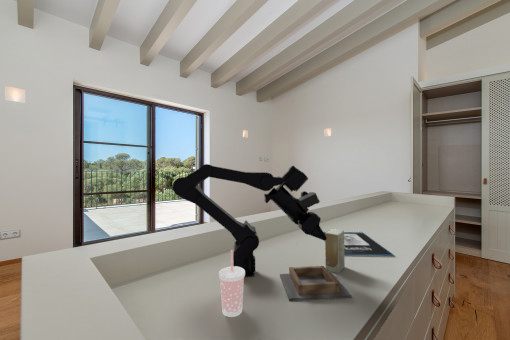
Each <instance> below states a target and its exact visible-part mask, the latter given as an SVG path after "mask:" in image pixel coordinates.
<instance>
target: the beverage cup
mask: <svg viewBox="0 0 510 340" xmlns="http://www.w3.org/2000/svg"><path fill="white" fill-rule="evenodd" d="M233 252H234V249H231V250H230V266H225V267H223V268H221V269H219V271H218V278H219V283H220V296H221V308H222V309H221V310H222V314H223V315H224V316H225V317H229V318H233V317H238V316H240V314H242V313H243V305H244V304H243V303H244V302H243V301H244V283H245V277H244V276H245V270H244V269H243V268H241V267H238V266H233Z"/></svg>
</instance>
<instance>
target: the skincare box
mask: <svg viewBox="0 0 510 340" xmlns="http://www.w3.org/2000/svg"><path fill="white" fill-rule="evenodd" d="M325 232H326V233H325V236H326V237H327V239H326V240H325V242H324V244H325V248H324V249H325V252H324V253H325V268H326V269H327V270H328V271H329V272H331V273H332V272H333V273H336V274H340V273H341V272H342V270H344V267H346V266H345V260H346V259H345V256H344V232H345V230H344V229H343V230H341V229H338V228H337V229H335V228H330V229H328V230H327V231H325Z"/></svg>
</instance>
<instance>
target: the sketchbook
mask: <svg viewBox="0 0 510 340" xmlns="http://www.w3.org/2000/svg"><path fill="white" fill-rule="evenodd" d="M323 232H324V234H325V233H326V232H327V231H326V230H325V231H323ZM323 242H324V243H325V241H324V240H323ZM344 257H375V258H376V257H380V258H382V257H383V258H385V257H386V258H395V254H393V253H392V252H390V251H389V250H388V249H387V248H386V247H383V246H382V245H381V244H380V243H378V242H377V241H375V240H374V239H372V238H371V237H370V236H369V235H367V234H366V233H364V232H362V231H353V230H352V231H351V230H350V231H345V230H344Z"/></svg>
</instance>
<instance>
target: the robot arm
mask: <svg viewBox="0 0 510 340" xmlns="http://www.w3.org/2000/svg"><path fill="white" fill-rule="evenodd" d="M208 178H212V179H213V178H214V179H218V180H224V181H230V182H235V183H241V184H245V185H248V186H250V187H252V188H255V189H258V190H260V191H262V192H263V191H264V192H268V191H269V192H268V193H264V194H263V196H264V202H265V204H268V203H269V202H270V201H272V202H273V203H274V204H275V205H276V206H277V207H278V208H279V209H280V210H281V211H282V212H283V213H284V214H285V215H286V216H287V218H288V219H289V220H290V221H291V222H292V223H294V224H295V225H297V226H298V228H299V229H300V230H301V231H302V232H303V233H305V235H308V236H310V237H314V238H316V239H319V240H322V241H323V242H324V241H325V240H326V239H327V237H326V236H325V234H324V231H323V229H322V228H321V226H320V223H321V217H320V216H319V215H318V214H317V213H315V212H313V211H309V210H310V209H309V208H310V207H312V206H315V205H318V204H319V203H320V202H321V201H320V199H319V197H318V194H317V193H316V192H313V191H311V192H307V191H305V190H304V191H301V192H300V196H299V198H297V197H295V196H293V194H292V192H293V191H294V192H298V191H299V190H300V188H302V187H303V185H305V184H306V183H307V181H308V180H309V177H308V176H307V175H306V173H304V172H303V171H301V170H300V169H299V168H297V167H296V166H294V165H291V166H290V167H289V168H288V170H287V171H286V172H285V173H284V174H283V175H282V176H277V177H276V176H274V175H273V174H272V173H270V172H265V171H264V172H263V171H261V172H255V171H254V172H253V171H252V172H250V171H242V170H235V169H231V168H225V167H219V166H215V165H212V164H203V165H202V166H200V167H199V168H198V169H196V170H194V171H192V172H191V173H190V174H188V175H187V176H182V177H181V176H180V177H179V178H176V179H175V180H174V181H173V183H172V192H173V193H174V194H175V195H176V196H178V197H180V198H182V199H184V201H187V202H190V203H193V204H195V205H196V206H197V207H199V208H200V209H201V210H202V211H204V212H205V213H206V214H207V215H208V216H210V217H211V218H212V219H213V220H215V221H216V222H217V224H220V225H221V226H222V227H223V228H224V229H226V230H227V232H229V233H230V234H231V236H232V237H233V238H234V240H235V241H234V244H233V266H238V267H241V268H243V269H244V270H245V276H244V278H245V277H246V278H247V277H255V272H256V257H255V255H254V251H255V250H257V249H258V247H259V246H260V245H259V244H260V238H259V235H258V232H257V229H256V227H255V226H253V225H251V224H250V223H249V222H248V220H245V221H244V222H242V221H239V220H237V219H236V218H235V217H234V216H232V215H231V214H230V213H229V212H228V211H226V210H225V209H223V207H221V205H219V204H218V203H217V202H216V201H214V200H213V199H211V197H210V196H208V195H207V194H206V193H205V192H204V190H203V189H202V188H201V186H200V184H202V183H203V182H204V181H205V180H206V179H208ZM288 190H289V191H290V192H289V191H288Z"/></svg>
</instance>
